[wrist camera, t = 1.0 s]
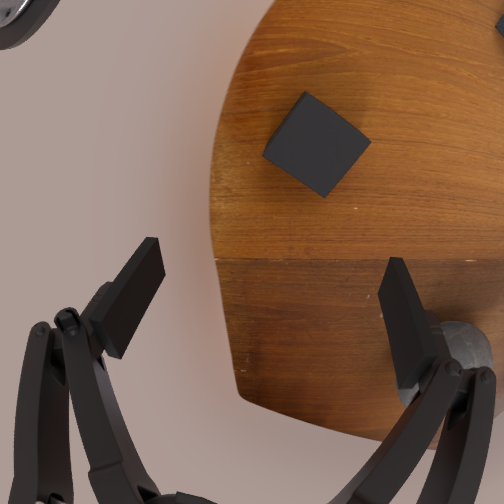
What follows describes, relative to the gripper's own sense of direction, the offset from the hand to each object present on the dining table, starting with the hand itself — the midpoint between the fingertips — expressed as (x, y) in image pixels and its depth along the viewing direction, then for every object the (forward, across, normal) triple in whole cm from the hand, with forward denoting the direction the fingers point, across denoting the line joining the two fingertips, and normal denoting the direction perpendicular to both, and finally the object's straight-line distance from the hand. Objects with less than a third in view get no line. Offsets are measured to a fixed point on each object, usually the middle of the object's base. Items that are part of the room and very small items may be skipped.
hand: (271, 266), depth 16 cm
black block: (+13, +3, +5) cm, 14 cm away
